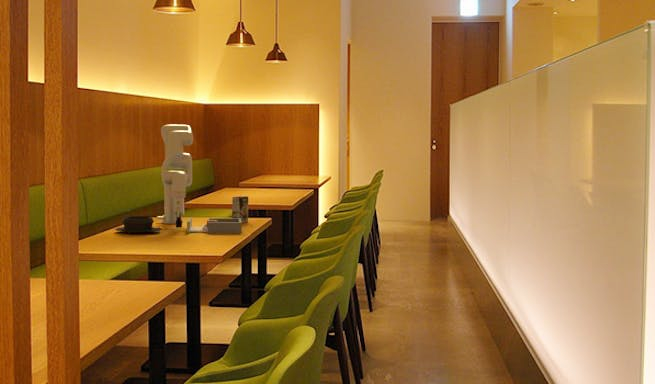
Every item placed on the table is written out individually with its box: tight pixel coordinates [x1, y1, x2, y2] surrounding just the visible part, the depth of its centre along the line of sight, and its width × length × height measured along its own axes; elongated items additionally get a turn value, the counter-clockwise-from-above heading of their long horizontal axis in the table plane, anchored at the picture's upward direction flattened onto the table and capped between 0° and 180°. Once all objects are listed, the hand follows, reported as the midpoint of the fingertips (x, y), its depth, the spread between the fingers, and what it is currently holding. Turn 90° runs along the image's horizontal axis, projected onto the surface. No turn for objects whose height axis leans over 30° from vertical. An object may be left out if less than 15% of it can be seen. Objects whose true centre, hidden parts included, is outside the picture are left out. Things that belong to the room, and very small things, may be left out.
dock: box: [207, 217, 243, 234], centre depth 417 cm, size 18×20×6 cm
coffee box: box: [231, 195, 249, 224], centre depth 453 cm, size 9×6×16 cm
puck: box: [206, 219, 218, 227], centre depth 416 cm, size 6×6×4 cm
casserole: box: [114, 215, 162, 235], centre depth 405 cm, size 25×19×8 cm
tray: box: [186, 216, 208, 234], centre depth 415 cm, size 19×20×6 cm
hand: (178, 227), depth 413 cm, fingers closed
